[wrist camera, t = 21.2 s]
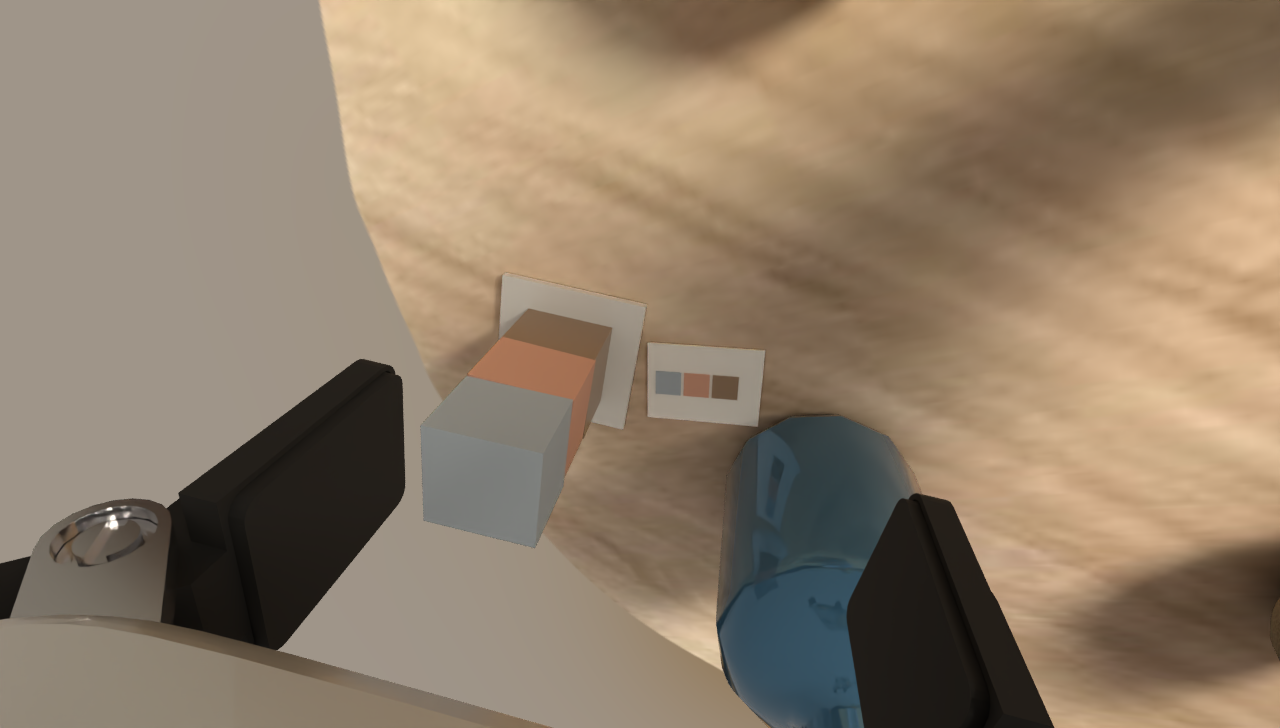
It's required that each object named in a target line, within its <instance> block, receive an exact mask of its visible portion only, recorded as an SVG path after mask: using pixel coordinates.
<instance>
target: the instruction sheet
mask: <svg viewBox="0 0 1280 728" xmlns="http://www.w3.org/2000/svg"><path fill="white" fill-rule="evenodd" d="M764 359H765V350H758V349H744V348H729V347H715V346H700V345H685V344H671V343H656V342H648V417H653V418H665V419H676V420H687V421H699V422H710V423H721V424H733V425H744V426H755V427H758V419H759V409H760V399H761V389H762V379H763V369H764Z"/></svg>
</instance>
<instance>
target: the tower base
mask: <svg viewBox="0 0 1280 728" xmlns="http://www.w3.org/2000/svg"><path fill="white" fill-rule="evenodd" d="M646 309H647V304H644V303H640V302H635V301H631V300H626V299H622V298H617V297H613V296H609V295H604V294H600V293H595V292H591V291H586V290H582V289H578V288H573V287H569V286H564V285H560V284H555V283H551V282H547V281H542V280H538V279H533V278H529V277H524V276H520V275H516V274H511V273H507V272H506V273H504V274H503V276H502V292H501V309H500V326H499V339H500V338H501V337H506V338H510V339H514V340H518V341H522V342H526V343H530V344H534V345H538V346H542V347H546V348H549V349H553V350H557V351H561V352H565V353H569V354H573V355H577V356H581V357H585V358H589V359H593V360H596V363H595V369H594V374H593V380H592V386H591V392H590V398H589V403H588V409H587V415H586V421H585V427H584V433H583V438H584V436H585V434H586V432H587V430H588V427H589V425H590V423H591V422H593V423H597V424H601V425H605V426H610V427H614V428H618V429H622V430H623V428H624V426H625V420H626V415H627V410H628V404H629V399H630V394H631V388H632V383H633V378H634V372H635V367H636V362H637V357H638V351H639V346H640V341H641V335H642V330H643V325H644V319H645V314H646ZM583 438H582V439H583Z"/></svg>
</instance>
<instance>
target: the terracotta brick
mask: <svg viewBox="0 0 1280 728" xmlns="http://www.w3.org/2000/svg"><path fill="white" fill-rule="evenodd" d="M595 363H596V360H593V359H589V358H585V357H581V356H577V355H573V354H569V353H565V352H561V351H557V350H553V349H549V348H546V347H542V346H538V345H534V344H530V343H526V342H522V341H518V340H514V339H510V338H506V337H501V338H500V339H499V341H498V342H497V343H496V344H495V345H494V346H493V347H492V348H491V349H490V350H489V351H488V352H487V353H486V354H485V356H484V357H483V358H482V359H481V360H480V361H479V362H478V363H477V364H476V365H475V366H474V367H473V368H472V370H471V371H470V372H469V373H468V374H467V376H470V377H474V378H479V379H483V380H488V381H492V382H496V383H501V384H505V385H510V386H514V387H519V388H523V389H528V390H532V391H537V392H541V393H546V394H550V395H555V396H559V397H564V398H568V399H572V400H573V404H572V413H571V422H570V431H569V440H568V449H567V458H566V467H565V476H566V473H567V471H568V469H569V467H570V465H571V463H572V460H573V458H574V456H575V454H576V452H577V450H578V447H579V445H580V443H581V441H582V438H583V433H584V427H585V421H586V415H587V409H588V403H589V398H590V392H591V386H592V380H593V374H594V369H595ZM565 476H564V478H565Z"/></svg>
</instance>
